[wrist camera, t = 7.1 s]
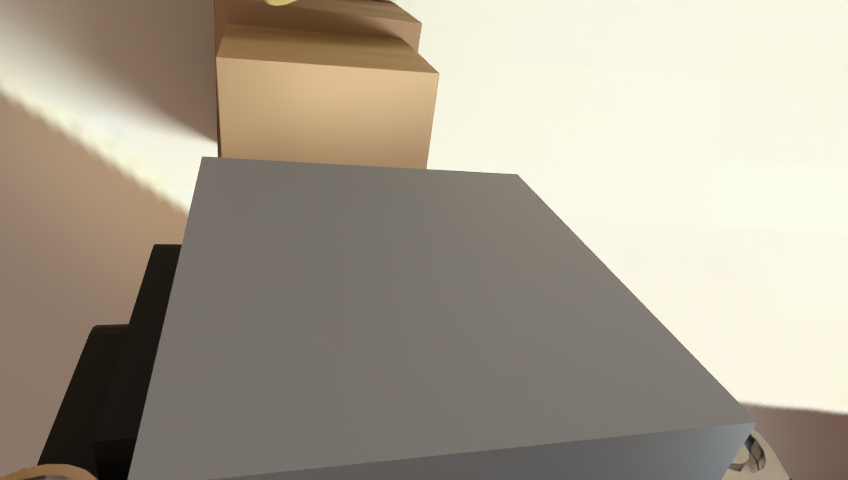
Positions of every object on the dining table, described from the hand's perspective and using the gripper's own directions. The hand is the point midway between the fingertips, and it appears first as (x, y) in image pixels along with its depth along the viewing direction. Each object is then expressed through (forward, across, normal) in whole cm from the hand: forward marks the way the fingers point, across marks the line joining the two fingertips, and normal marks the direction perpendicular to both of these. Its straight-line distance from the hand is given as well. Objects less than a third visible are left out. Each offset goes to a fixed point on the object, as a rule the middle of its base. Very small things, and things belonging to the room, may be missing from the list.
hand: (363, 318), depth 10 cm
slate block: (+1, 0, 0) cm, 1 cm away
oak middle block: (+12, 0, 0) cm, 12 cm away
